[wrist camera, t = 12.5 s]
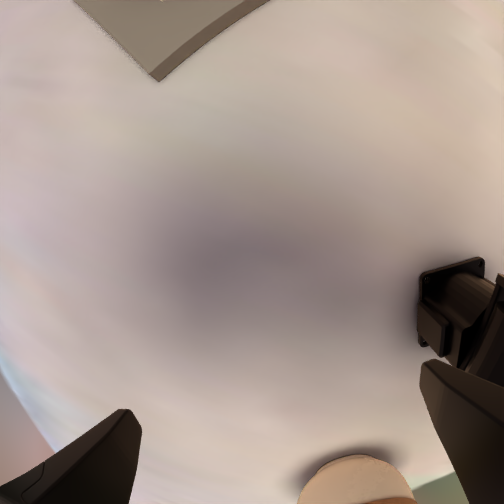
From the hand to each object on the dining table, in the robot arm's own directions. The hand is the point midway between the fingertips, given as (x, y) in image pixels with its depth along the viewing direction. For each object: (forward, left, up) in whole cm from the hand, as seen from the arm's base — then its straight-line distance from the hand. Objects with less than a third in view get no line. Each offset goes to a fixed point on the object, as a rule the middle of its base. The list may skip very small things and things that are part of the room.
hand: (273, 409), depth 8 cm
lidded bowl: (-4, +26, -13) cm, 29 cm away
